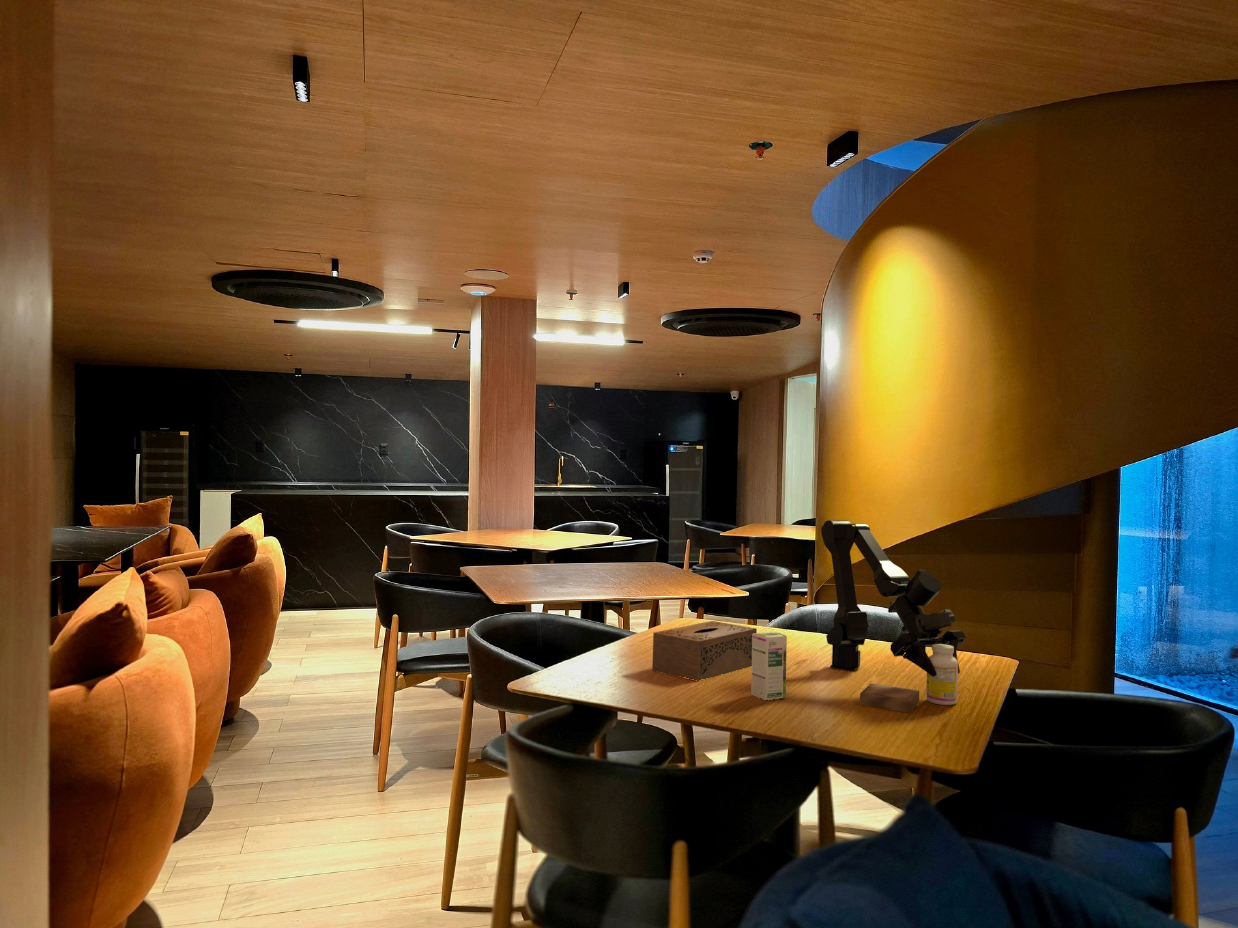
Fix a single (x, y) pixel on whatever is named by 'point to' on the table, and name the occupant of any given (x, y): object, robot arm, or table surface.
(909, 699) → the plinth
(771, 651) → the syrup box
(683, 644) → the tissue box cover
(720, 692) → the table surface
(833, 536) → the robot arm
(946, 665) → the supplement bottle
